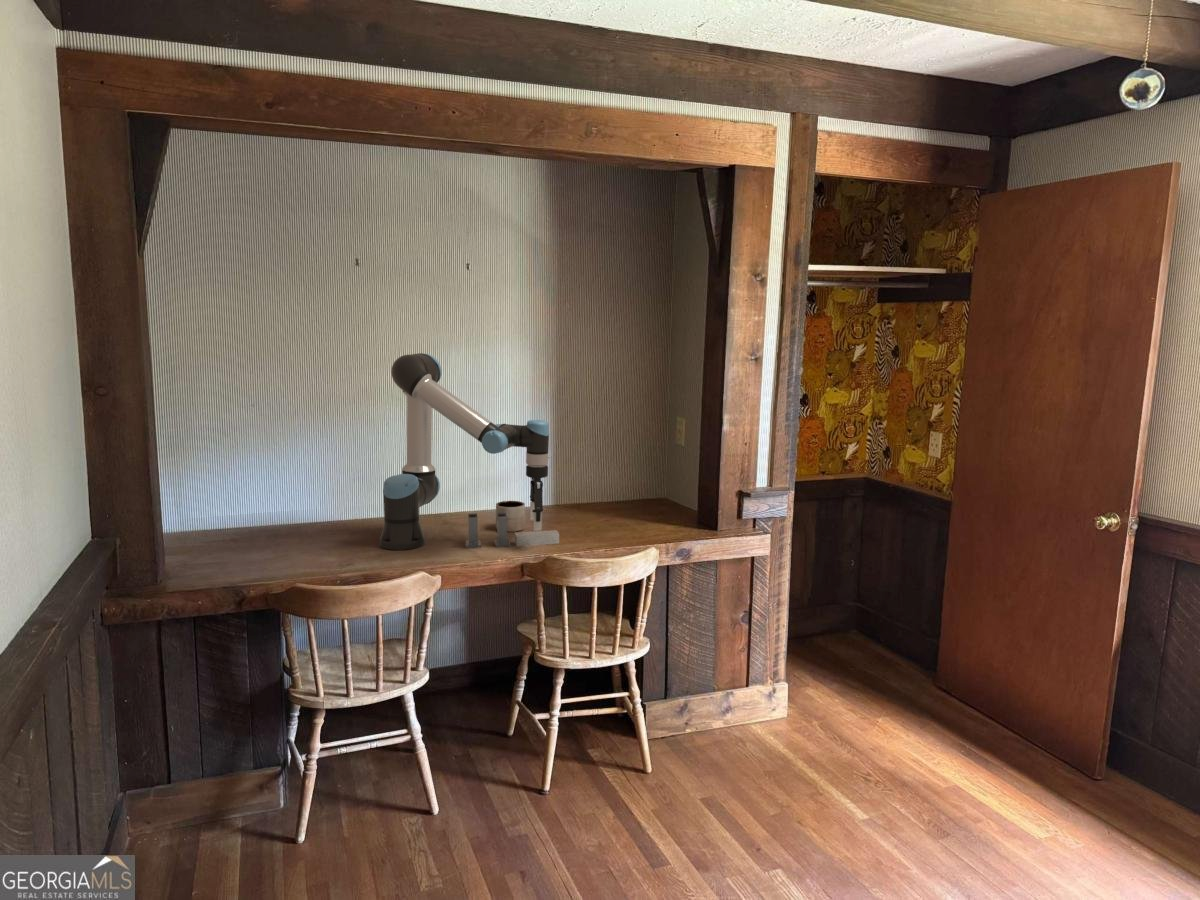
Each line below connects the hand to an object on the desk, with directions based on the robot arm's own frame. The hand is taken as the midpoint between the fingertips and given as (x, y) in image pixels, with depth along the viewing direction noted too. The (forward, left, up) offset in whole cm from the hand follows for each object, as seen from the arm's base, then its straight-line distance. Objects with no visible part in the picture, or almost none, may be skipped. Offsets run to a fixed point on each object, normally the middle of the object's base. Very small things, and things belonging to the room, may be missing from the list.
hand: (535, 525), depth 276 cm
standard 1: (-22, 0, -6) cm, 22 cm away
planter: (-8, +20, -7) cm, 22 cm away
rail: (0, 0, -7) cm, 7 cm away
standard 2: (-12, 0, -6) cm, 13 cm away
